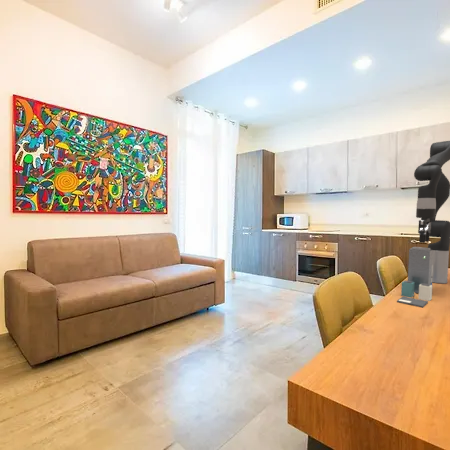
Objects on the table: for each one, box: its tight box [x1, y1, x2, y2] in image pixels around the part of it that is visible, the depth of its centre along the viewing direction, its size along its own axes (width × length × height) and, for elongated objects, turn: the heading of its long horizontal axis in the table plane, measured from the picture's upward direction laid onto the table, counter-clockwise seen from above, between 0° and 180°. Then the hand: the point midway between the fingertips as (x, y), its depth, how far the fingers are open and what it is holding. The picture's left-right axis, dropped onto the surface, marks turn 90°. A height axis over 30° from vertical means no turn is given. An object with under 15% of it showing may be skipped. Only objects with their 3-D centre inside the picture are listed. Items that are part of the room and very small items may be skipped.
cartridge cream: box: [417, 283, 433, 302], centre depth 123 cm, size 4×4×6 cm
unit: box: [407, 246, 433, 294], centre depth 134 cm, size 7×8×21 cm
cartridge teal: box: [400, 280, 415, 298], centre depth 128 cm, size 4×4×6 cm
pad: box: [396, 296, 429, 308], centre depth 118 cm, size 9×9×1 cm
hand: (424, 241), depth 137 cm, fingers open, 8 cm apart
